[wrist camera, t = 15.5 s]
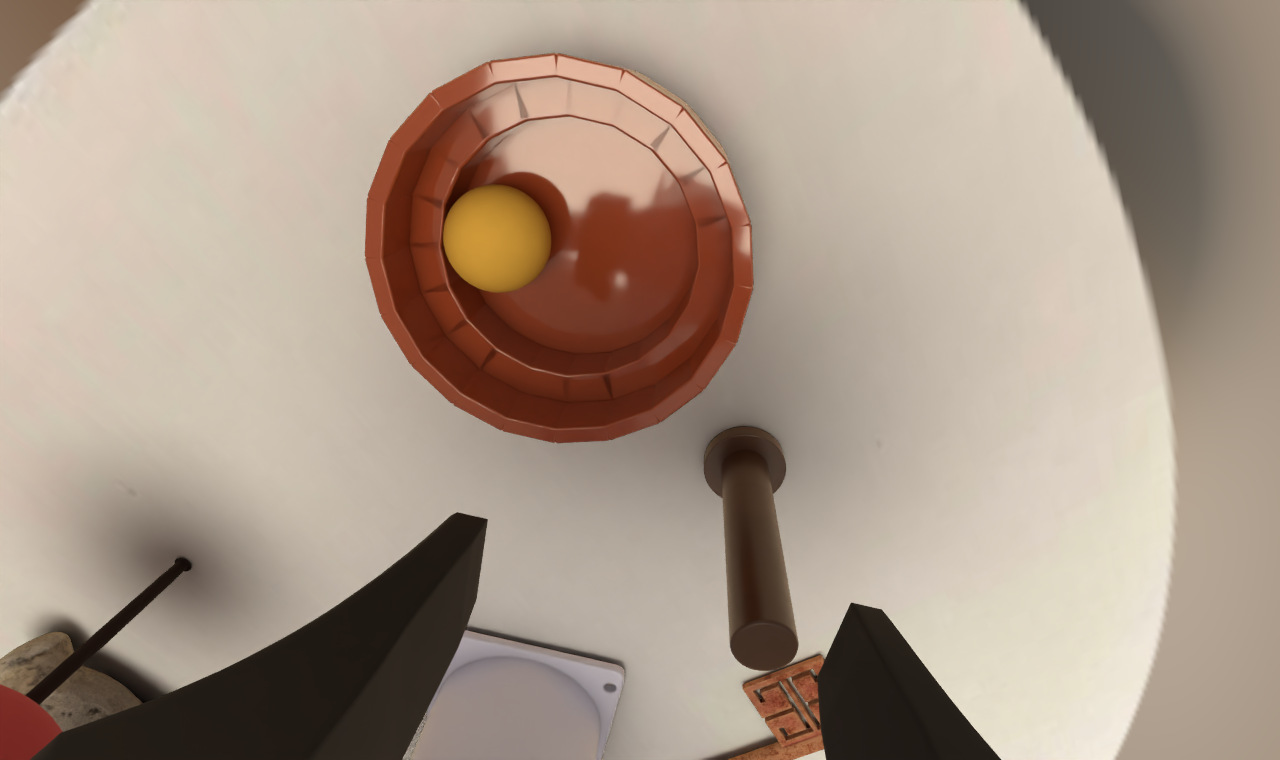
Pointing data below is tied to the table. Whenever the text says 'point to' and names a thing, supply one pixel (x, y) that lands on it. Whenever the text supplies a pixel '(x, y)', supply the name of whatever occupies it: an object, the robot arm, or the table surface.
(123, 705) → the stone
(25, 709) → the lollipop
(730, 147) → the table surface
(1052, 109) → the table surface
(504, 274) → the ball
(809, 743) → the key
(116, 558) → the table surface
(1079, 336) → the table surface
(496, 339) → the bowl
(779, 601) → the stick
